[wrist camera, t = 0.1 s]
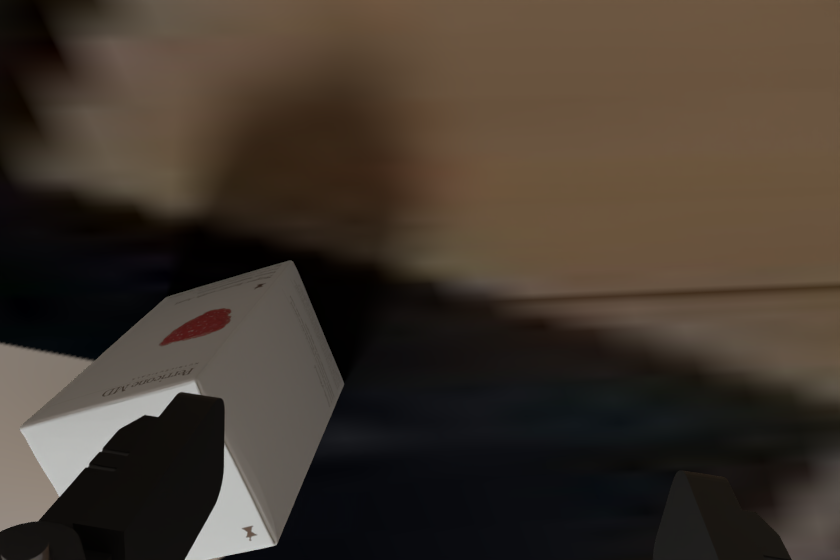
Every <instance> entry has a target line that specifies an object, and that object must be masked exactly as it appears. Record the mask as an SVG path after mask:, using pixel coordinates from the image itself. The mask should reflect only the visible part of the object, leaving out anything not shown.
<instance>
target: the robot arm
mask: <svg viewBox="0 0 840 560" xmlns="http://www.w3.org/2000/svg"><path fill="white" fill-rule="evenodd" d="M224 432H225V406H224V401H223V399H222V398H217V397H211V396H204V395H198V394H191V393H185V392H180V393H178V394H177V395H176V396H175V397H174V398H173V400H172V401H171V402H170V403H169V405H168V406H167V407H166V408H165V410H164V411H163V412H162V413H161V415H160V416H159V417H155V416H149V415H144V416H142V417H140V418H138V419H137V420H135V421H133V422H131V423H129V424H128V425H126V426H124V427H122V428H121V429H119V430H118V431H117V432H116V433H115V434H114V436H113V437H112V438H111V439H110V440H109V441H108V442H107V444H106V445H105V446H104V447H103V449H102V452H99V453H98V454H97V455H96V456H95V457H94V458H93V460H92V461H91V462H90V463H89V466H88V468H85V469H84V470H83V471H82V472H81V473H80V474H79V475H78V477H77V478H76V479H75V480H74V481H73V482H72V483H71V485H70V486H69V487H68V488H67V489H66V490H65V491H64V493H63V494H62V495H61V496H60V497H59V498H58V499H57V501H56V502H55V503H54V504H53V505H52V506H51V507H50V508H49V510H48V511H47V512H46V513H45V514H44V515H43V516H42V518H41V519H40V520H39V521H37V522H29V523H24V524H19V525H16V526H13V527H10V528H7V529H5V530H2V531H1V532H0V560H185V558H186V557H187V555H188V553H189V551H190V549H191V548H192V546H193V544H194V542H195V540H196V539H197V537H198V535H199V533H200V532H201V530H202V528H203V526H204V524H205V523H206V521H207V519H208V517H209V515H210V514H211V512H212V510H213V508H214V506H215V504H216V502H217V499H218V497H219V493H220V490H221V486H222V481H223V474H224ZM653 560H792V559H791V558H790V556H789V554H788V552H787V550H786V548H785V546H784V544H783V542H782V540H781V538H780V536H779V535H778V534H777V533H776V532H775V531H774V530H773V529H772V528H771V527H770V526H769V525H768V524H767V523H766V522H765V521H764V520H763V519H762V518H761V517H760V516H759V515H758V514H757V513H756V512H752V511H745V510H741V507H740V505H739V503H738V501H737V499H736V497H735V495H734V493H733V490H732V488H731V486H730V484H729V482H728V480H727V479H726V478H724V477H720V476H713V475H707V474H700V473H694V472H687V471H678V472H677V474H676V475H675V477H674V480H673V483H672V486H671V489H670V493H669V496H668V499H667V503H666V506H665V510H664V513H663V516H662V520H661V523H660V527H659V530H658V533H657V537H656V541H655V545H654V552H653Z"/></svg>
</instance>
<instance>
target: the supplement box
mask: <svg viewBox="0 0 840 560" xmlns="http://www.w3.org/2000/svg"><path fill="white" fill-rule="evenodd" d="M343 386H344V382H343V379H342V377H341V374H340V372H339V369H338V367H337V365H336V362H335V360H334V357H333V355H332V353H331V350H330V348H329V345H328V343H327V341H326V338H325V336H324V333H323V331H322V329H321V326H320V324H319V321H318V319H317V316H316V314H315V311H314V309H313V307H312V304H311V302H310V299H309V297H308V295H307V292H306V290H305V287H304V285H303V282H302V280H301V278H300V275H299V273H298V271H297V269H296V266H295V264H294V262H293V261H291V260H289V261H286V262H282V263H279V264H275V265H272V266H268V267H265V268H261V269H258V270H255V271H251V272H248V273H244V274H241V275H238V276H235V277H231V278H228V279H224V280H221V281H218V282H214V283H211V284H208V285H204V286H201V287H198V288H194V289H191V290H188V291H184V292H181V293H178V294H175V295H171V296H168V297H166V298H165V299H164V300H163V301H162V302H160V303H159V304H158V305H157V306H156V307H155V308H154V309H153V310H151V311H150V312H149V313H148V314H147V315H146V316H144V317H143V318H142V319H141V320H140V321H139V322H138V323H137V324H135V325H134V326H133V327H132V328H131V329H130V330H129V331H128V332H126V333H125V334H124V335H123V336H122V337H121V338H120V339H119V340H117V341H116V342H115V343H114V344H113V345H112V346H111V347H110V348H108V349H107V350H106V351H105V352H104V353H103V354H102V355H101V356H100V357H99V358H97V359H96V360H95V361H94V362H93V363H92V364H91V365H90V366H88V367H87V368H86V369H85V370H84V371H83V372H82V373H81V374H79V375H78V376H77V377H76V378H75V379H74V380H73V381H72V382H71V383H70V384H68V385H67V386H66V387H65V388H64V389H63V390H62V391H61V392H59V393H58V394H57V395H56V396H55V397H54V398H52V399H51V400H50V401H49V402H48V403H47V404H46V405H45V406H43V407H42V408H41V409H40V410H39V411H38V412H36V413H35V414H34V415H33V416H32V417H31V418H30V419H28V420H27V421H26V422H25V423H24V424H23V425H22V426H21V427H20V431H21V432H22V434H23V435H24V437H25V439H26V440H27V442H28V444H29V446H30V448H31V450H32V452H33V453H34V455H35V457H36V459H37V460H38V462H39V464H40V465H41V467H42V469H43V470H44V472H45V473H46V475H47V477H48V478H49V480H50V481H51V483H52V484H53V486H54V488H55V490H56V491H57V493H58V495H59V497H60V496H61V495H62V494H63V493H64V491H65V490H66V489H67V488H68V487H69V486H70V485H71V483H72V482H73V481H74V480H75V479H76V478H77V477H78V475H79V474H80V473H81V472H82V471H83V470H84V469H85V468H88V466H89V463H90V462H91V461H92V460H93V458H94V457H95V456H96V455H97V454H98V453H99V452H102V449H103V447H104V446H105V445H106V444H107V442H108V441H109V440H110V439H111V438H112V437H113V436H114V434H115V433H116V432H117V431H118V430H119V429H121V428H122V427H124V426H126V425H128V424H129V423H131V422H133V421H135V420H137V419H138V418H140V417H142V416H144V415H149V416H155V417H159V416H160V415H161V413H162V412H163V411H164V410H165V408H166V407H167V406H168V405H169V403H170V402H171V401H172V400H173V398H174V397H175V396H176V395H177V394H178V393H180V392H185V393H191V394H198V395H204V396H211V397H217V398H222V399H223V401H224V406H225V432H224V474H223V481H222V486H221V490H220V493H219V497H218V499H217V502H216V504H215V506H214V508H213V510H212V512H211V514H210V515H209V517H208V519H207V521H206V523H205V524H204V526H203V528H202V530H201V532H200V533H199V535H198V537H197V539H196V540H195V542H194V544H193V546H192V548H191V549H190V551H189V553H188V555H187V557H186V558H185V560H209V559H213V558H218V557H222V556H227V555H232V554H237V553H242V552H247V551H252V550H257V549H261V548H266V547H271V546H275V545H277V543H278V540H279V538H280V536H281V533H282V531H283V528H284V526H285V523H286V521H287V519H288V516H289V514H290V511H291V509H292V507H293V504H294V502H295V499H296V497H297V495H298V492H299V490H300V488H301V485H302V483H303V480H304V478H305V476H306V473H307V471H308V469H309V466H310V464H311V462H312V459H313V457H314V455H315V452H316V450H317V447H318V445H319V443H320V440H321V438H322V435H323V433H324V431H325V428H326V426H327V424H328V421H329V419H330V416H331V414H332V412H333V409H334V407H335V405H336V402H337V400H338V397H339V395H340V393H341V390H342V388H343Z"/></svg>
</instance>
